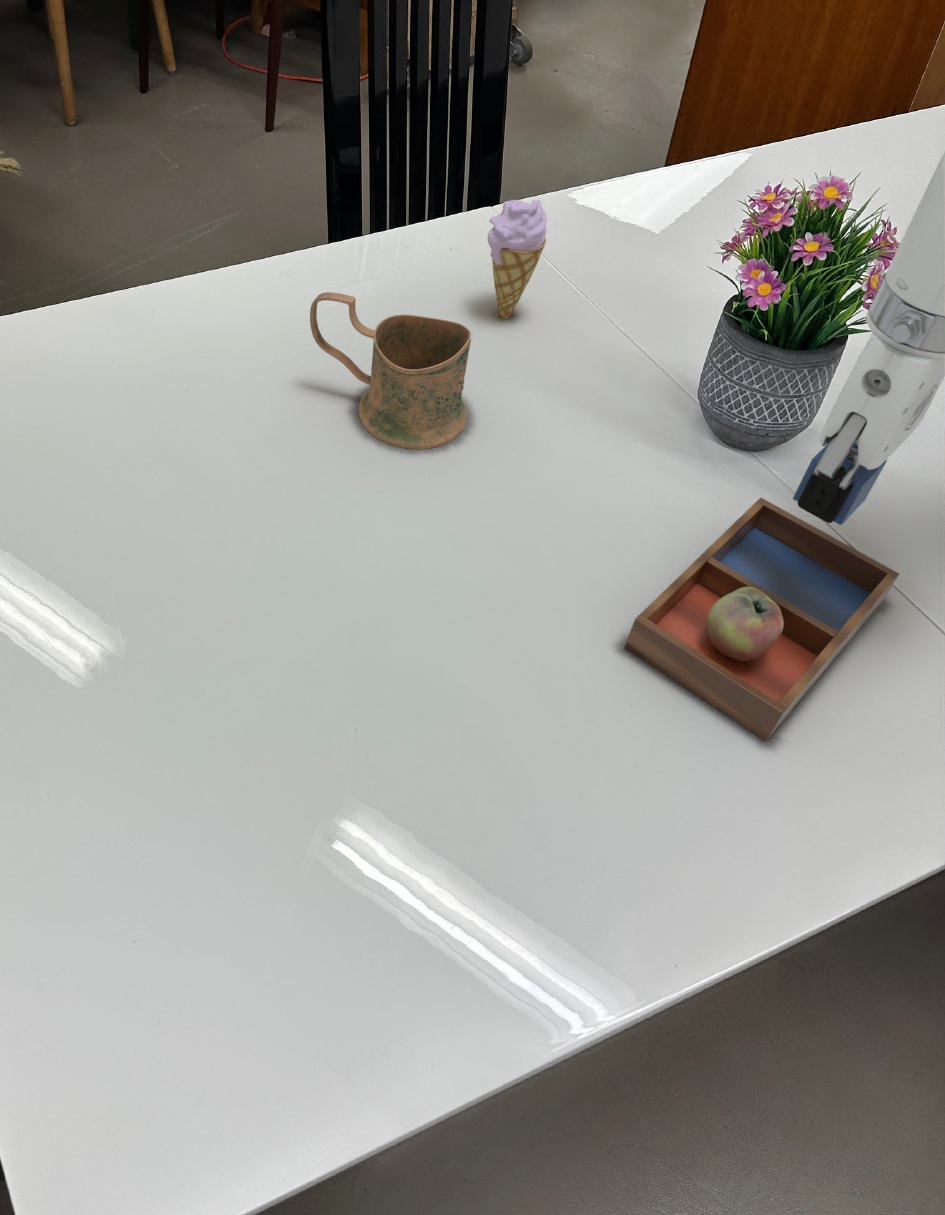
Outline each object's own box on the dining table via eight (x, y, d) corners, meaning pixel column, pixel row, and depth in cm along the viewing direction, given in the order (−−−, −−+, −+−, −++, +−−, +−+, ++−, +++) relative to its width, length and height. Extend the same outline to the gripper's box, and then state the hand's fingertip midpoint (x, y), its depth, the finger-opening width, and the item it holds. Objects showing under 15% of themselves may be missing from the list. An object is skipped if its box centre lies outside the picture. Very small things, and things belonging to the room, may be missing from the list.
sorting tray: (747, 526, 106) (760, 496, 104) (881, 602, 100) (899, 573, 98) (623, 647, 95) (634, 618, 92) (766, 741, 89) (783, 713, 86)
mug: (328, 357, 122) (332, 261, 113) (479, 396, 118) (496, 300, 109) (289, 417, 114) (290, 319, 105) (449, 460, 111) (464, 363, 102)
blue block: (816, 474, 94) (837, 434, 91) (864, 500, 92) (887, 460, 89) (792, 499, 92) (812, 458, 88) (841, 525, 90) (863, 485, 87)
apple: (689, 671, 93) (710, 626, 88) (705, 607, 98) (725, 562, 93) (760, 694, 91) (785, 650, 87) (772, 628, 96) (796, 583, 92)
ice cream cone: (502, 338, 126) (524, 217, 115) (463, 313, 129) (481, 194, 118) (539, 317, 129) (565, 198, 118) (501, 294, 132) (522, 176, 121)
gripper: (929, 384, 72) (824, 572, 86) (1022, 290, 81) (913, 474, 95) (826, 335, 76) (740, 524, 89) (926, 250, 84) (833, 434, 98)
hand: (830, 496), depth 92 cm, fingers closed on blue block, 4 cm apart
